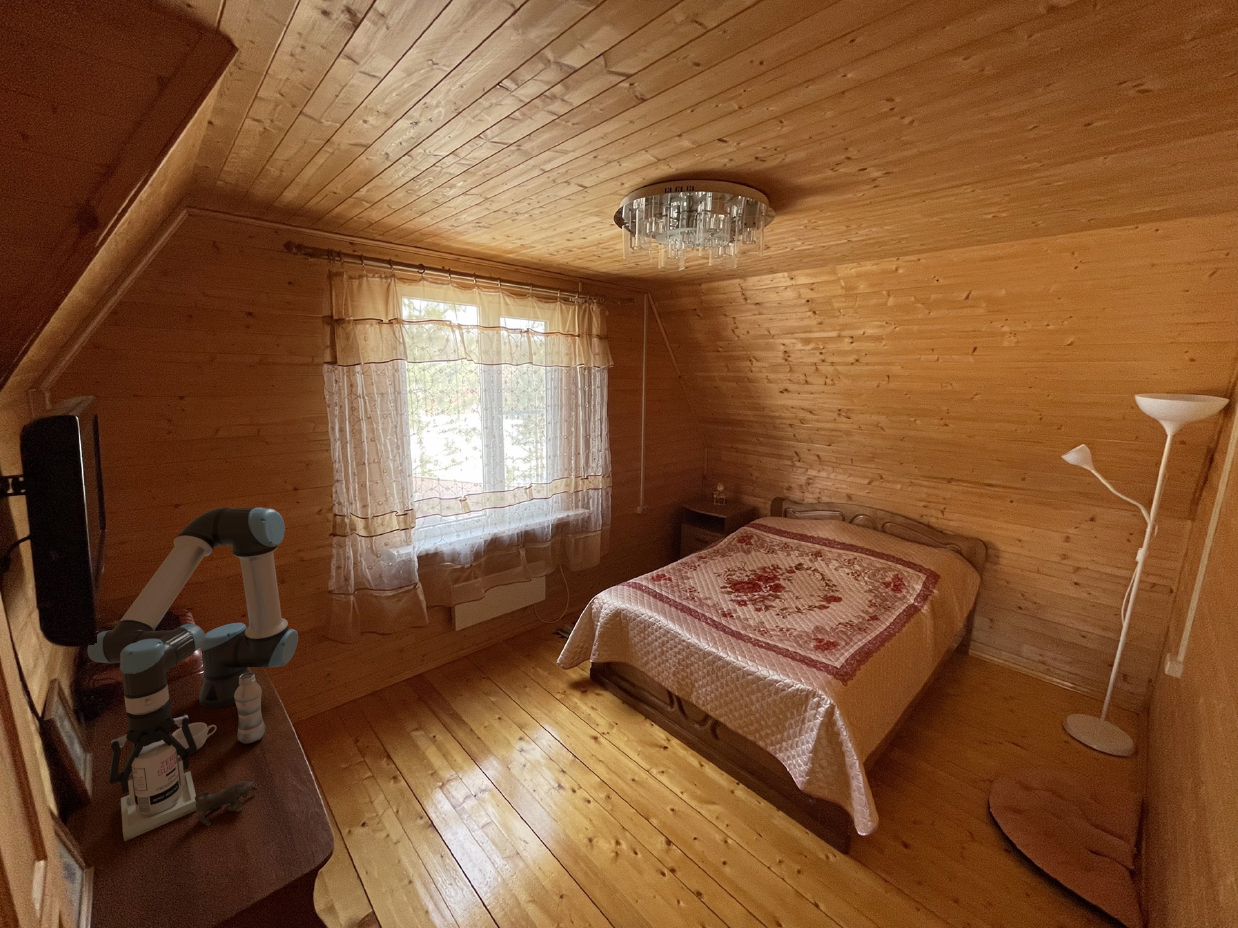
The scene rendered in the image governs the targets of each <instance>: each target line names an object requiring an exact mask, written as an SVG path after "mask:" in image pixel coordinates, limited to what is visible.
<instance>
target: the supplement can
mask: <svg viewBox="0 0 1238 928" xmlns="http://www.w3.org/2000/svg"><path fill="white" fill-rule="evenodd" d="M178 756H179V755H178V754H177V753H176V748H175V747H173V746H172V744H171V745H170V746H169V745H168V744H167V743H165V742H164V741H163V740H161V741H159V742H155V743H152V744H150V745H148V746H145V747H144V746H143V748H142V750H141V752H140V753H139V755H138V757H137V758H135V759H134V761H133V763H132V771H131V773H130V774H132V780H133V788H134V796H135V806H136V811H137V813H138V814H140V815H144V816H150V815H155V814H158V813H160V812H163V811H165V810H167V809H168V808H170V807H171V806H172V805H174V804H175V803H176V801H177V800H178V799H179V798H180V796H181V793H182V791H181V783H180V774H179V765H178Z"/></svg>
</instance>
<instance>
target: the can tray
mask: <svg viewBox="0 0 1238 928" xmlns="http://www.w3.org/2000/svg"><path fill="white" fill-rule="evenodd" d="M184 780H185V784H184V785H182V786H181V791H182V793H181V796H180V798H179V799H178V800H177V801H176V803H175V804H174V805H172V806H171V807H170V808H168V809H167V810H165V811H163V812H160V813H158V814H155V815H150V816H144V815H140V814H138V813H137V811H136V806H135V805H132V806H131V802H130V794H127V795H126V796H123V797H121V798H120V807H121V824H122V835H123V841H124V843H125V842H126V841H129V840H131V839H133V838H136V837H137V836H138V837H139V836H140V835H142V834H146V833H147V832H150V831H152V830H154V829H156V828H158V827H161V826H163V825H165V824H168V823H170V822H172V821H174V820H177V819H179V818H181V817H184V816H186V815H188V814H191V813H192V812H193V813H194V811H198V810H197V808H196V800H195V796H196V795H197V794H196V790H195V785H194V782H193V778H192V772H191V770H189V771H187V772H186V771H185V772H184Z"/></svg>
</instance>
